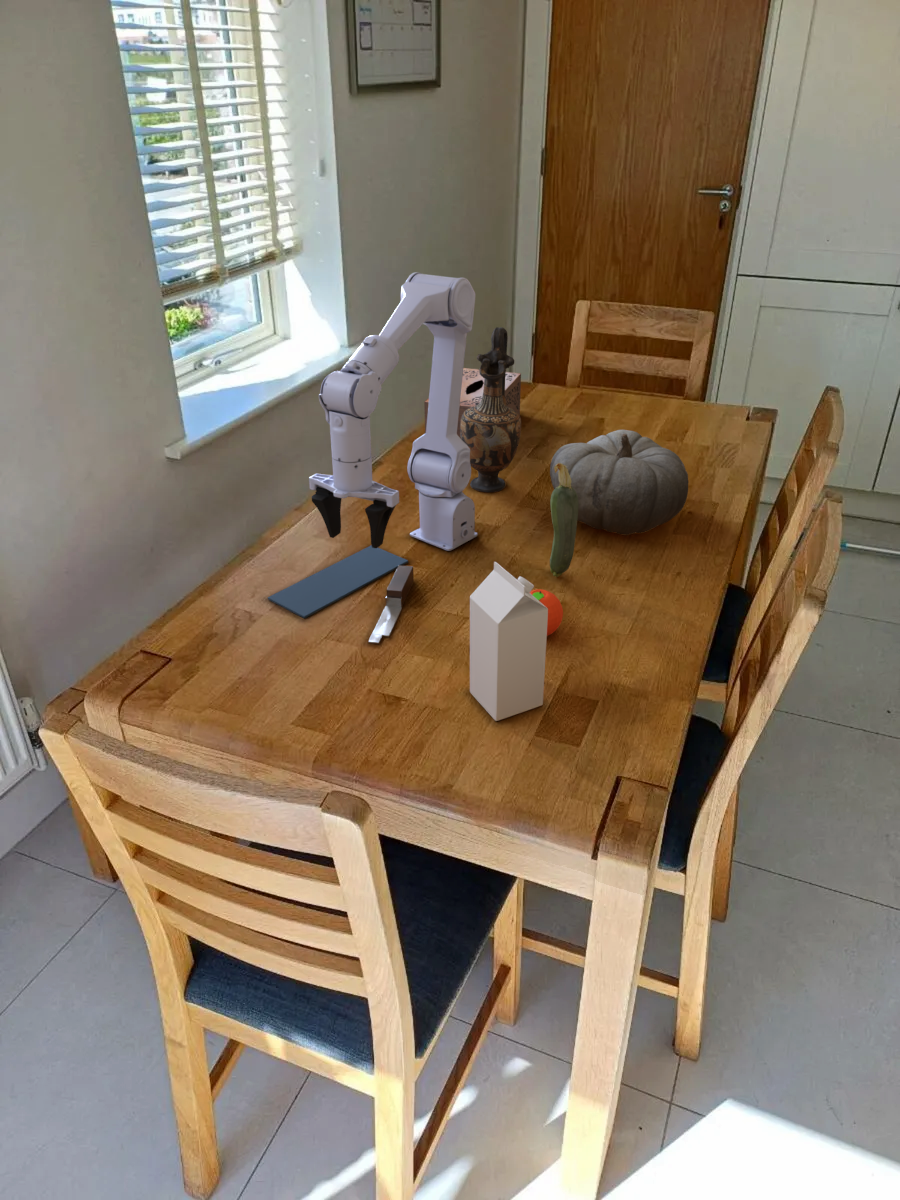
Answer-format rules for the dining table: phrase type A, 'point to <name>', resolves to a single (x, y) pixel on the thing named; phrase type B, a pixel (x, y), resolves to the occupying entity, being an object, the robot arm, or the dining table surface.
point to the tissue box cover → (474, 392)
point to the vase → (492, 420)
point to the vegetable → (563, 521)
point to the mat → (336, 581)
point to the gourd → (623, 481)
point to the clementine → (550, 608)
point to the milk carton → (507, 645)
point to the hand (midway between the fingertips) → (356, 540)
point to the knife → (393, 602)
